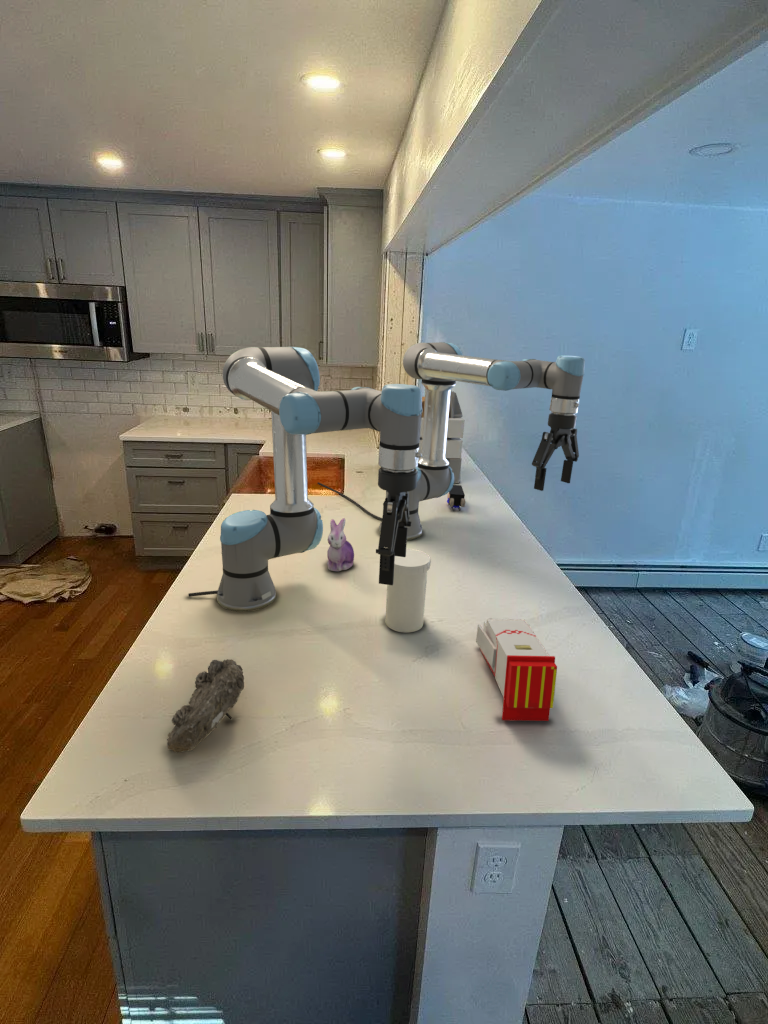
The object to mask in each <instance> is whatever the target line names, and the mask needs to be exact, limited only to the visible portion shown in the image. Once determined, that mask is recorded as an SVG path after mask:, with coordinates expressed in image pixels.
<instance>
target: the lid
mask: <svg viewBox="0 0 768 1024" xmlns="http://www.w3.org/2000/svg"><path fill="white" fill-rule="evenodd" d="M431 560H432V559H431V556H430V555H429V554H428V553H427V552H426V551H423V550H421V549H416V548H407V547H406V557H399V556H395V562H394V572H395V573H398V574H403V575H418V574H422V573H425V572H427V573H428V571H429V570H430V569H431V562H432V561H431Z"/></svg>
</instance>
